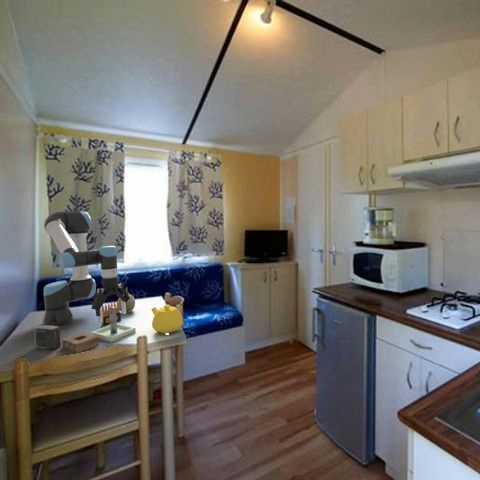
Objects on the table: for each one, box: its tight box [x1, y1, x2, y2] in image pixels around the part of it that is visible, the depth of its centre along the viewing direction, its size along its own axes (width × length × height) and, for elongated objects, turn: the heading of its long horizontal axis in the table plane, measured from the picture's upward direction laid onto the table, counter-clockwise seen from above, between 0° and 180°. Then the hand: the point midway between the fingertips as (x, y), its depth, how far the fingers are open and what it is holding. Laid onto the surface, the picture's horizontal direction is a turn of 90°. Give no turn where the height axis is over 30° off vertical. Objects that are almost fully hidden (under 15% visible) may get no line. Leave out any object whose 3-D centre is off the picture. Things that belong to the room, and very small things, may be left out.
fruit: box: [117, 287, 136, 314], centre depth 182 cm, size 10×12×15 cm
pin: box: [109, 306, 118, 334], centre depth 147 cm, size 3×3×13 cm
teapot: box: [151, 304, 184, 334], centre depth 150 cm, size 20×16×14 cm
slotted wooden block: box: [61, 331, 100, 354], centre depth 134 cm, size 12×10×4 cm
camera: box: [33, 324, 62, 350], centre depth 134 cm, size 11×6×10 cm, turn 75°
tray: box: [90, 322, 137, 343], centre depth 147 cm, size 16×14×2 cm
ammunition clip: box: [101, 300, 122, 327], centre depth 164 cm, size 11×2×12 cm, turn 144°
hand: (112, 317), depth 147 cm, fingers open, 13 cm apart
